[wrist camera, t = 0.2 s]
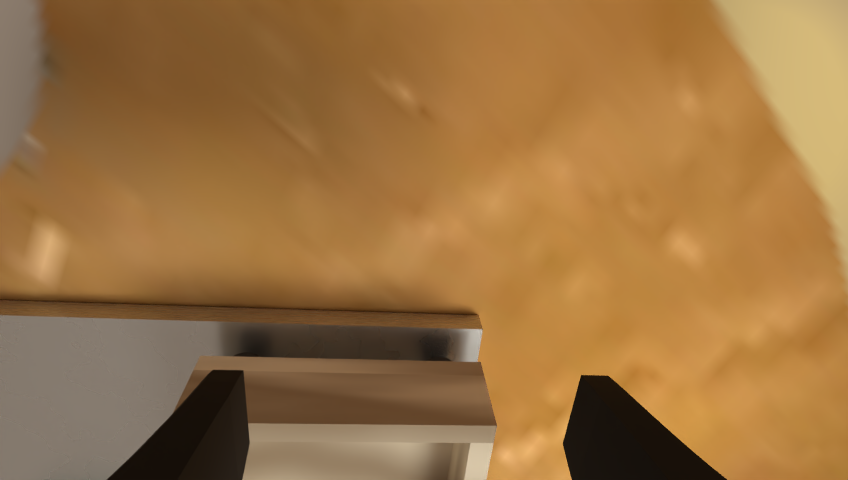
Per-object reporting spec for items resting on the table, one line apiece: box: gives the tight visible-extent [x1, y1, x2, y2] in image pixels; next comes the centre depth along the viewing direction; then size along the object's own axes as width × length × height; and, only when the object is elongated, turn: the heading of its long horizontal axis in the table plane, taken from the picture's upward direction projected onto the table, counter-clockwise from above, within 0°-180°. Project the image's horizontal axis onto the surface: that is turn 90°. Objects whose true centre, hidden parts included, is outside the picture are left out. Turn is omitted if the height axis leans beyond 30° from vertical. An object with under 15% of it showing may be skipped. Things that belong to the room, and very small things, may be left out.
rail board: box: [0, 300, 483, 480], centre depth 22 cm, size 12×27×3 cm, turn 85°
